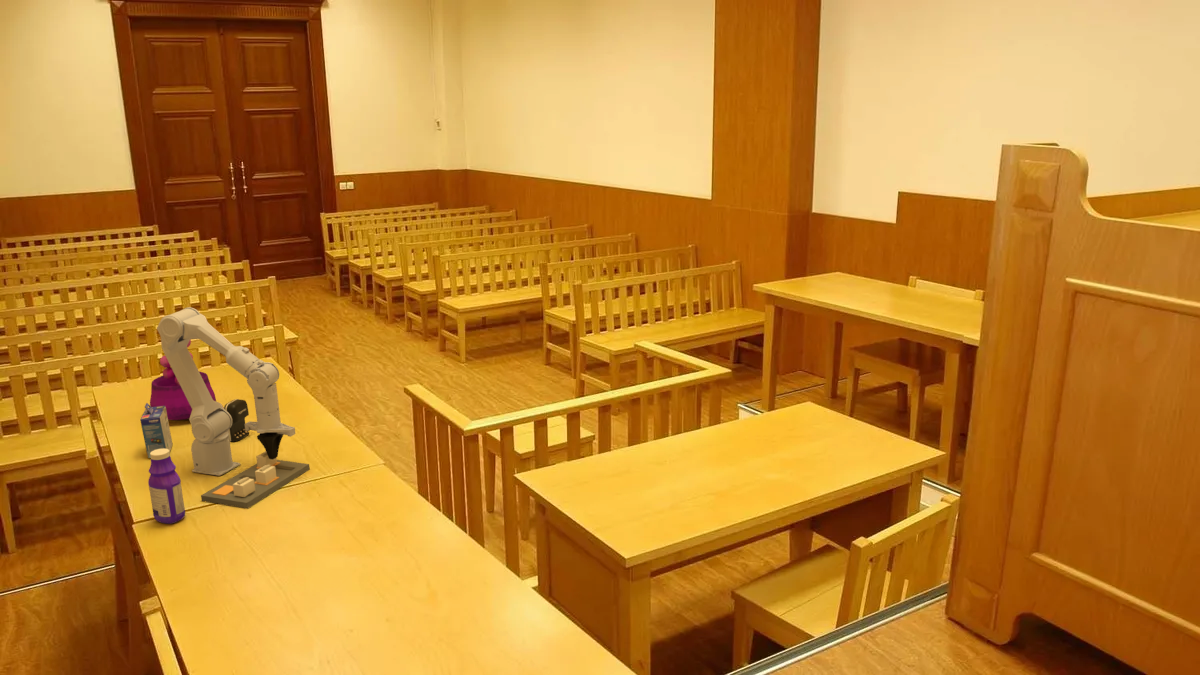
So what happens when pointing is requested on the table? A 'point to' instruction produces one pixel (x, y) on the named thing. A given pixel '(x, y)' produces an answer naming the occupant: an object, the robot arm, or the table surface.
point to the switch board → (225, 491)
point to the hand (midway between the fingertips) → (273, 457)
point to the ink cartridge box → (156, 429)
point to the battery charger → (237, 419)
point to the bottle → (165, 488)
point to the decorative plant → (173, 392)
